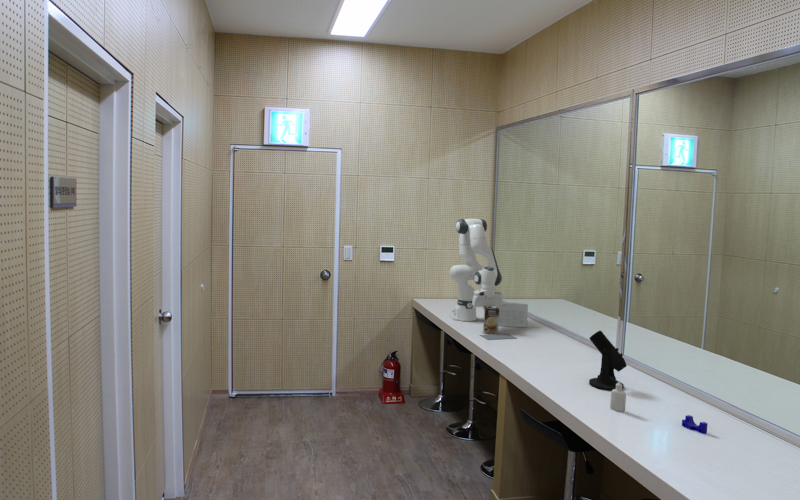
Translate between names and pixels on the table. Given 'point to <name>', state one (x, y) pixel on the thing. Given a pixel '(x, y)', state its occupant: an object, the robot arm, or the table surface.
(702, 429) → the cable holder
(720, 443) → the table surface
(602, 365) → the microphone
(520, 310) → the skincare box
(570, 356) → the table surface
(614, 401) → the eye dropper bottle
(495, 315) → the coffee box
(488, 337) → the mat
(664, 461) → the table surface
